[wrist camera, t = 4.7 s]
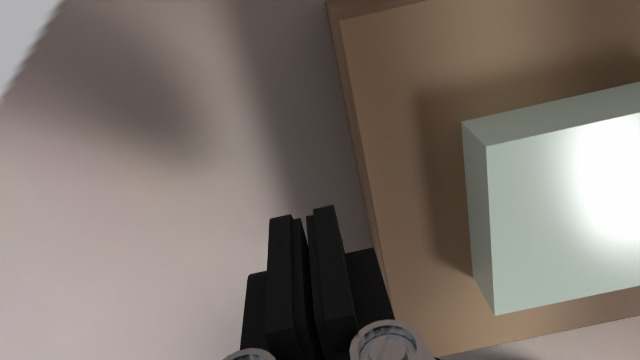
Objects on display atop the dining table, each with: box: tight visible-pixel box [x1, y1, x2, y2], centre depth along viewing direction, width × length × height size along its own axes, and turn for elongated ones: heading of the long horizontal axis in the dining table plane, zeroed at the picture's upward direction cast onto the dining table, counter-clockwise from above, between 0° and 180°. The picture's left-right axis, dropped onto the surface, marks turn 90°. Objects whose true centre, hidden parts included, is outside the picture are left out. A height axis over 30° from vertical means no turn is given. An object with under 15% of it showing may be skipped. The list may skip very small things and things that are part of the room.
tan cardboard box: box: [325, 0, 640, 358], centre depth 14 cm, size 14×11×4 cm
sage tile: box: [461, 82, 640, 316], centre depth 12 cm, size 5×5×2 cm
